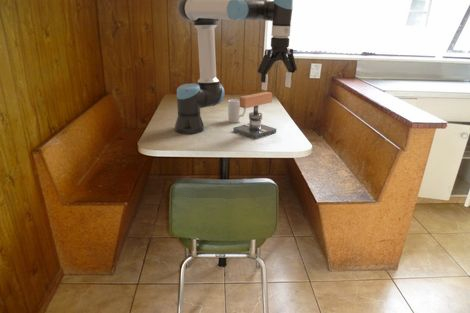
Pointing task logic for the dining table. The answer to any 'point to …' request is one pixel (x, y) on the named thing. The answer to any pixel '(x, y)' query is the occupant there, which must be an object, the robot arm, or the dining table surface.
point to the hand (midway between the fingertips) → (276, 88)
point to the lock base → (256, 132)
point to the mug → (234, 110)
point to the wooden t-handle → (255, 103)
